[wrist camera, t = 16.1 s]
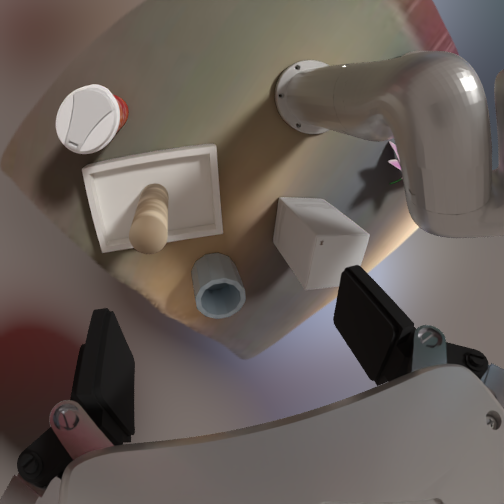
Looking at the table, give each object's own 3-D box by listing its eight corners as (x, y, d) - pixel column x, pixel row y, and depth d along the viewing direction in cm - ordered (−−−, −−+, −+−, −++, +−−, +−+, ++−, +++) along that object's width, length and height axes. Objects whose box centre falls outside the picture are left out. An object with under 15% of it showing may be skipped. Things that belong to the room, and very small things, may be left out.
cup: (234, 249, 52) (244, 274, 45) (236, 286, 56) (246, 313, 49) (188, 257, 51) (192, 283, 44) (195, 293, 55) (199, 322, 48)
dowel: (166, 181, 42) (164, 215, 30) (170, 208, 44) (170, 250, 33) (138, 185, 41) (125, 221, 30) (143, 212, 44) (133, 256, 32)
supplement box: (271, 243, 53) (302, 292, 41) (277, 196, 49) (316, 234, 37) (315, 242, 56) (355, 286, 43) (324, 198, 52) (371, 234, 39)
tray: (213, 143, 42) (216, 145, 40) (220, 226, 49) (223, 233, 47) (87, 164, 38) (81, 168, 36) (105, 244, 45) (102, 253, 43)
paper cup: (120, 146, 39) (98, 167, 27) (79, 127, 35) (41, 141, 23) (145, 100, 36) (131, 99, 24) (102, 81, 33) (71, 74, 21)
